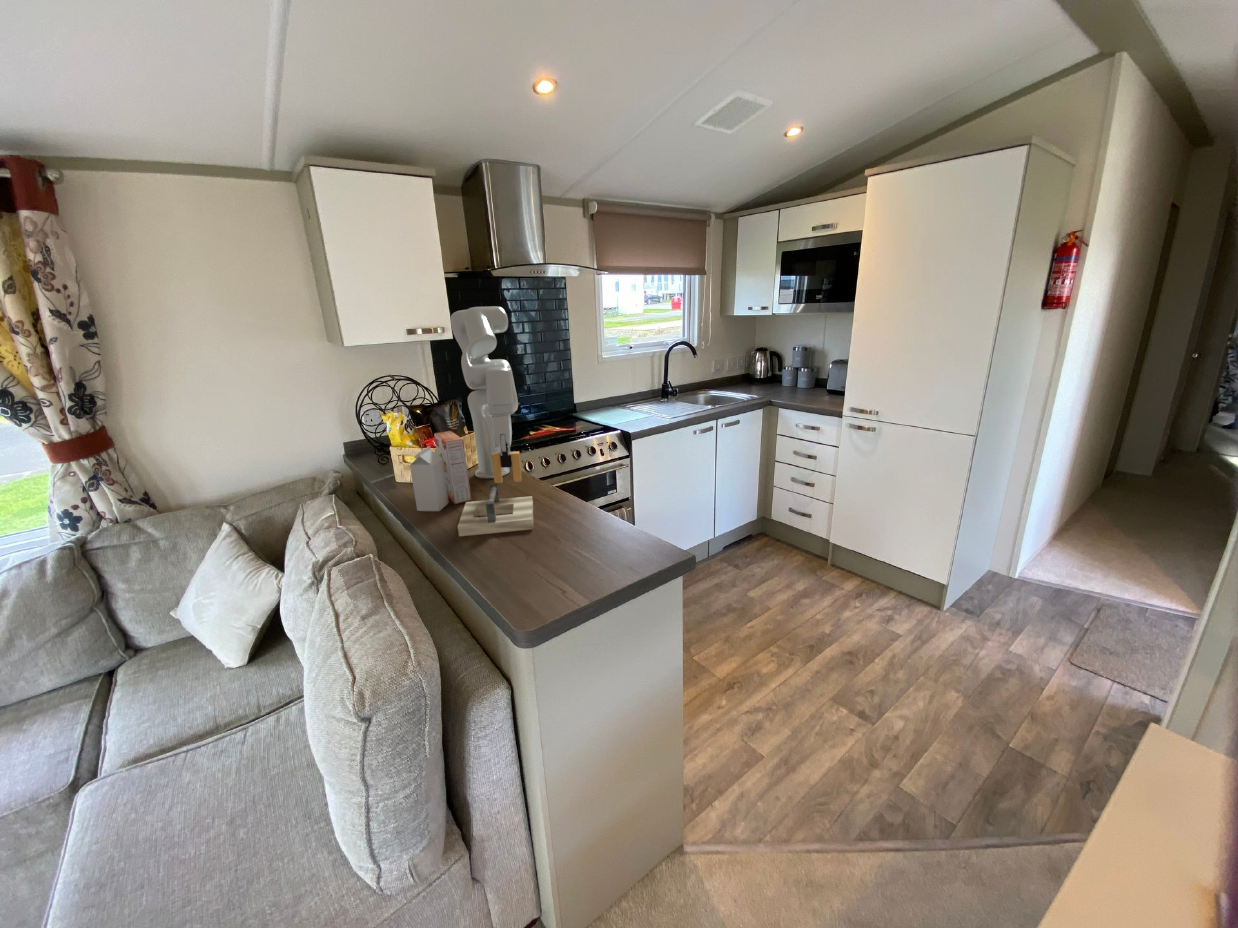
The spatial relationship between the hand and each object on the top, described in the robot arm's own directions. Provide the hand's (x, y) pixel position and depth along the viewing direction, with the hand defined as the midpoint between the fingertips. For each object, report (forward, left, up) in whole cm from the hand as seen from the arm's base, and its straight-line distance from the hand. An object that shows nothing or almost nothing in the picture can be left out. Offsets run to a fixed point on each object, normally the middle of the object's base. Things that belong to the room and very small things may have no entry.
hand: (506, 464), depth 156 cm
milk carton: (+1, -24, -12) cm, 27 cm away
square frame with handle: (+16, -4, -12) cm, 20 cm away
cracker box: (-7, -18, -12) cm, 22 cm away
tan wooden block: (0, 0, -5) cm, 6 cm away
